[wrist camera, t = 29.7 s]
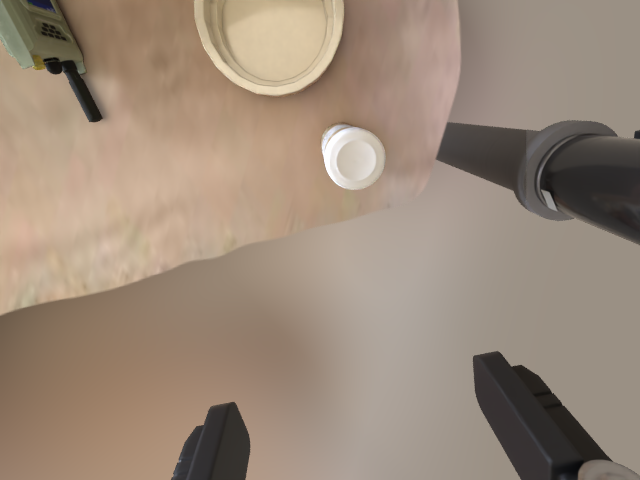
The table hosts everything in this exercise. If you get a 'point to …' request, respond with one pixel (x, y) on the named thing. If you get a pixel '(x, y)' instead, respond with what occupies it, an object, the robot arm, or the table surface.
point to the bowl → (270, 41)
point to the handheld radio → (45, 44)
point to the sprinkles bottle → (352, 156)
